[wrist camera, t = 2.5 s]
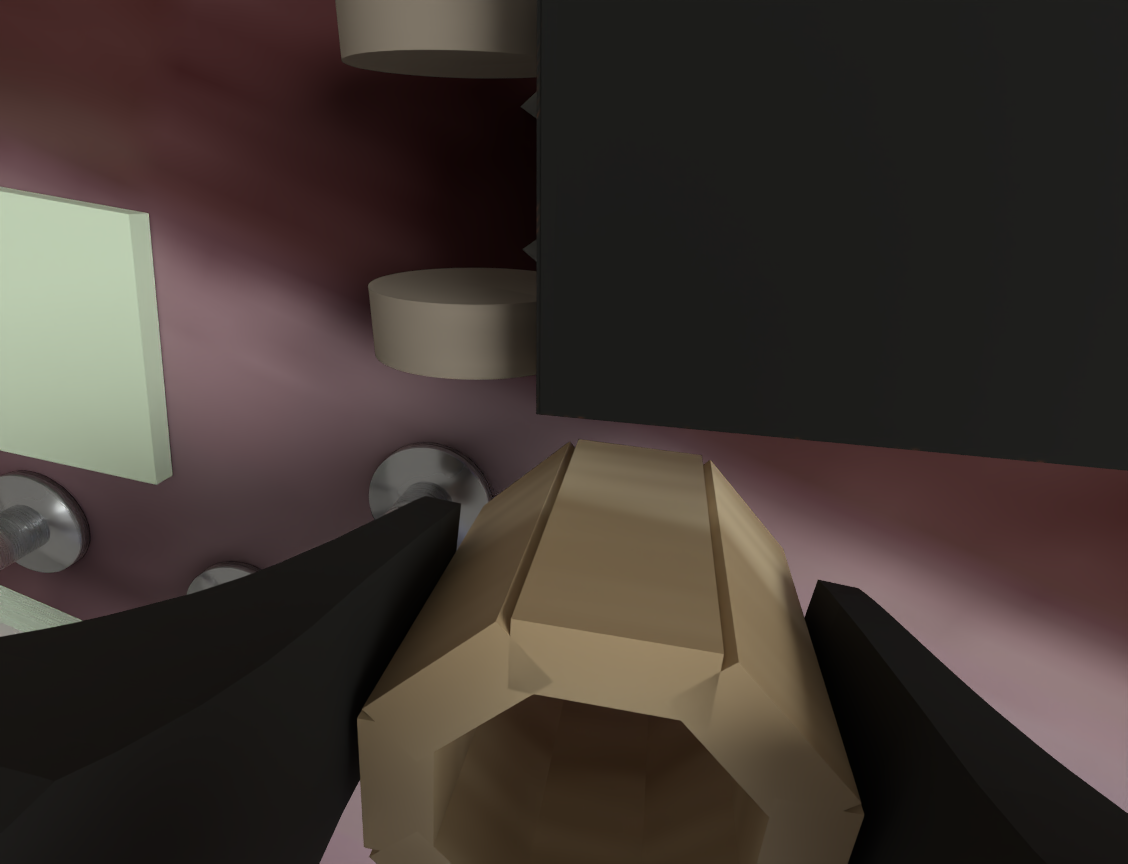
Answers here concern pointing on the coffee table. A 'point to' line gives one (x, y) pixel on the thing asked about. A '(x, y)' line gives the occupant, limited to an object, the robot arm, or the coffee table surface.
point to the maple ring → (608, 685)
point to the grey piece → (61, 537)
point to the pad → (80, 337)
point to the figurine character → (795, 218)
